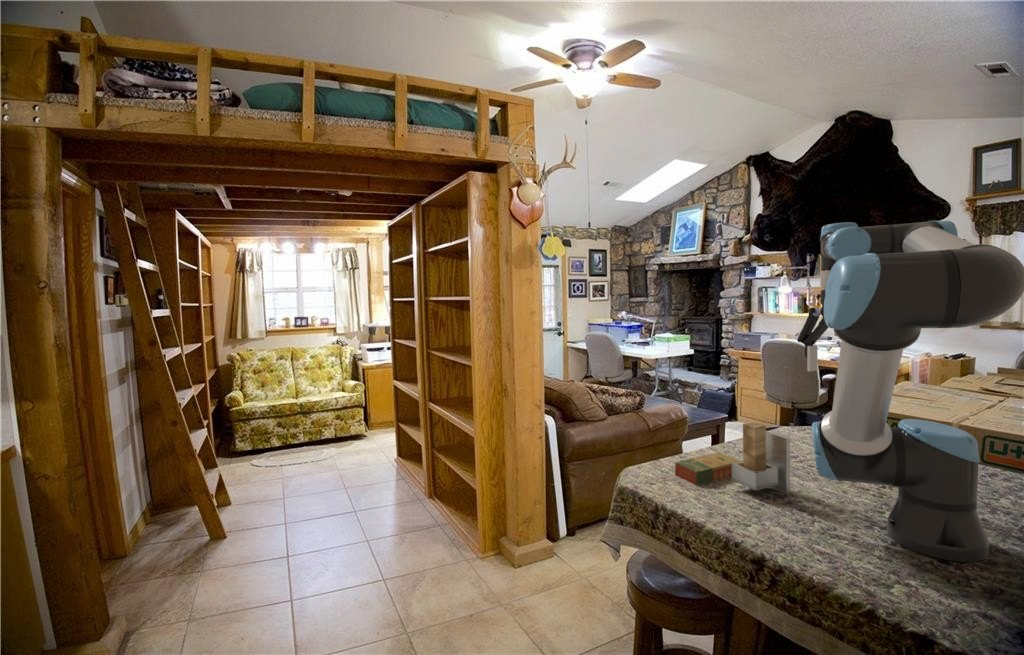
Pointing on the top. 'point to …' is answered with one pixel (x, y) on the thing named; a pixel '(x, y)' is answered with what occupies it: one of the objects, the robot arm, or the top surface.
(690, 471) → the carton
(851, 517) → the top surface
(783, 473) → the bracket
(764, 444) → the block
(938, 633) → the top surface
